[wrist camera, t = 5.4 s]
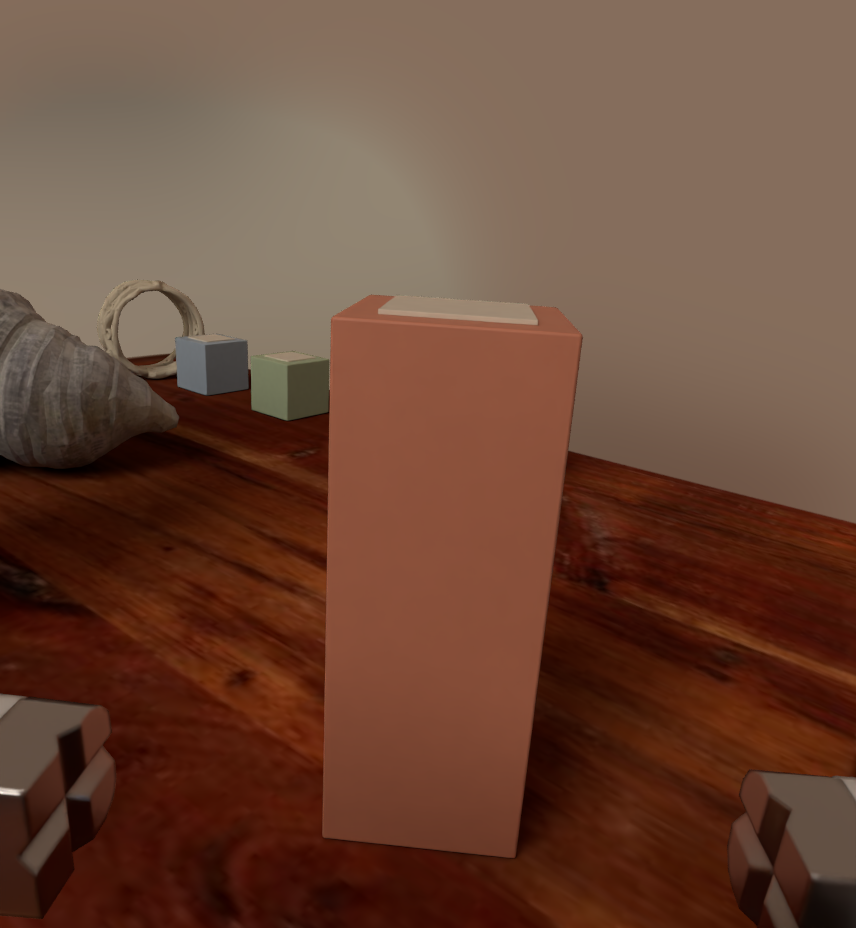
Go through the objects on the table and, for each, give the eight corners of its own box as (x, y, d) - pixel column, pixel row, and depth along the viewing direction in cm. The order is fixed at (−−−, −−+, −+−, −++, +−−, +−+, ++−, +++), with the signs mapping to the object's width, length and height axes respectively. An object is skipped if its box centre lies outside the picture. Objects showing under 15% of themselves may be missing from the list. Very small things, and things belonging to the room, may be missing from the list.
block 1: (248, 389, 59) (247, 339, 57) (206, 395, 56) (204, 343, 54) (219, 380, 61) (217, 332, 60) (177, 386, 58) (174, 336, 57)
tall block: (508, 729, 21) (558, 302, 17) (516, 860, 16) (584, 328, 12) (354, 713, 21) (368, 290, 17) (322, 838, 17) (330, 310, 13)
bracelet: (97, 376, 59) (88, 278, 57) (187, 368, 65) (183, 278, 62) (116, 386, 57) (107, 283, 54) (208, 376, 62) (205, 282, 60)
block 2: (328, 412, 53) (329, 357, 52) (287, 421, 50) (287, 363, 49) (293, 402, 55) (293, 349, 54) (251, 409, 52) (250, 354, 51)
